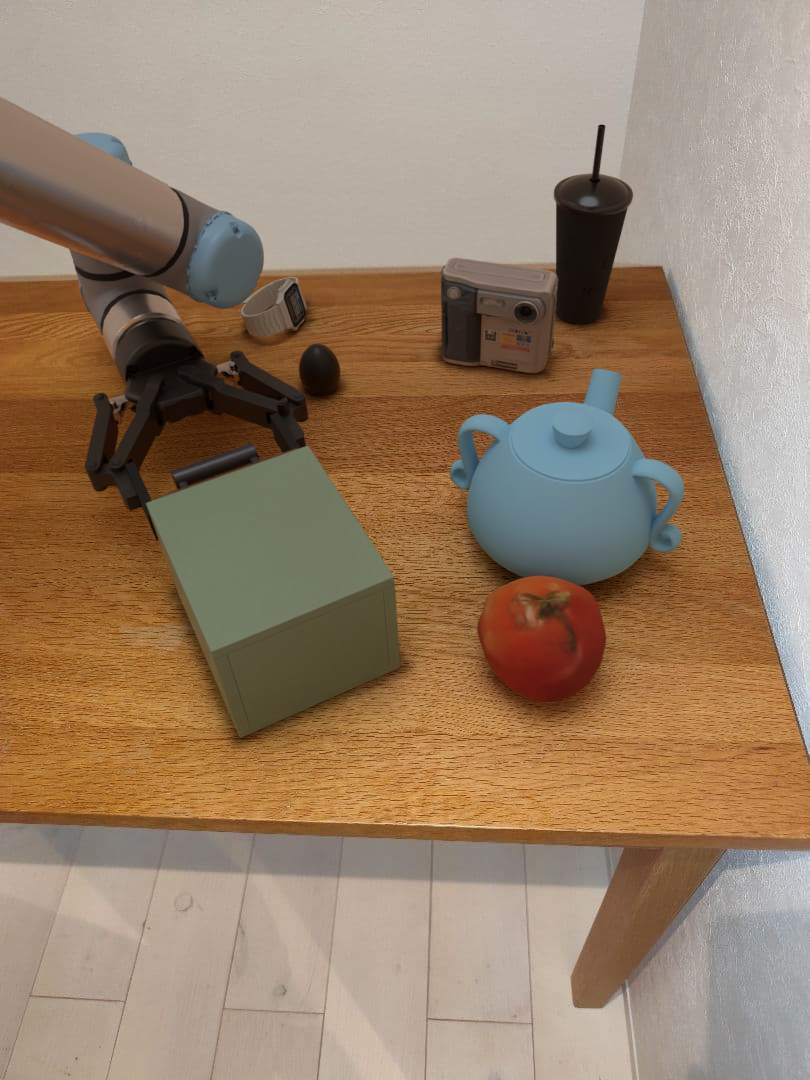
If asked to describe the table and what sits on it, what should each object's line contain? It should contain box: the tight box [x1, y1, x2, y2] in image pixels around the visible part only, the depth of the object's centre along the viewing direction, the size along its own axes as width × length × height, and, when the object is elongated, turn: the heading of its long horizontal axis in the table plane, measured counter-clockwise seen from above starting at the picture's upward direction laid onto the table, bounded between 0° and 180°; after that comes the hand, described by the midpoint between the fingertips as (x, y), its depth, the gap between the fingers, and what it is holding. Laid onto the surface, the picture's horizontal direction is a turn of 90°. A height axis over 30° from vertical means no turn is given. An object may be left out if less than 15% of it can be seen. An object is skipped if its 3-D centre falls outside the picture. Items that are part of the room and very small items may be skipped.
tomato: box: [476, 576, 607, 704], centre depth 64 cm, size 9×9×8 cm
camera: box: [440, 257, 558, 374], centre depth 89 cm, size 11×6×10 cm, turn 70°
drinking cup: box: [553, 124, 634, 325], centre depth 90 cm, size 8×8×20 cm
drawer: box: [152, 442, 297, 501], centre depth 68 cm, size 19×12×9 cm, turn 27°
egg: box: [298, 343, 341, 396], centre depth 88 cm, size 4×4×5 cm
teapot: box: [449, 368, 685, 586], centre depth 72 cm, size 20×20×13 cm
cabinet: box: [146, 445, 401, 739], centre depth 66 cm, size 15×13×11 cm
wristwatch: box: [240, 276, 308, 338], centre depth 96 cm, size 9×6×5 cm
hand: (233, 499), depth 70 cm, fingers closed on drawer, 12 cm apart
